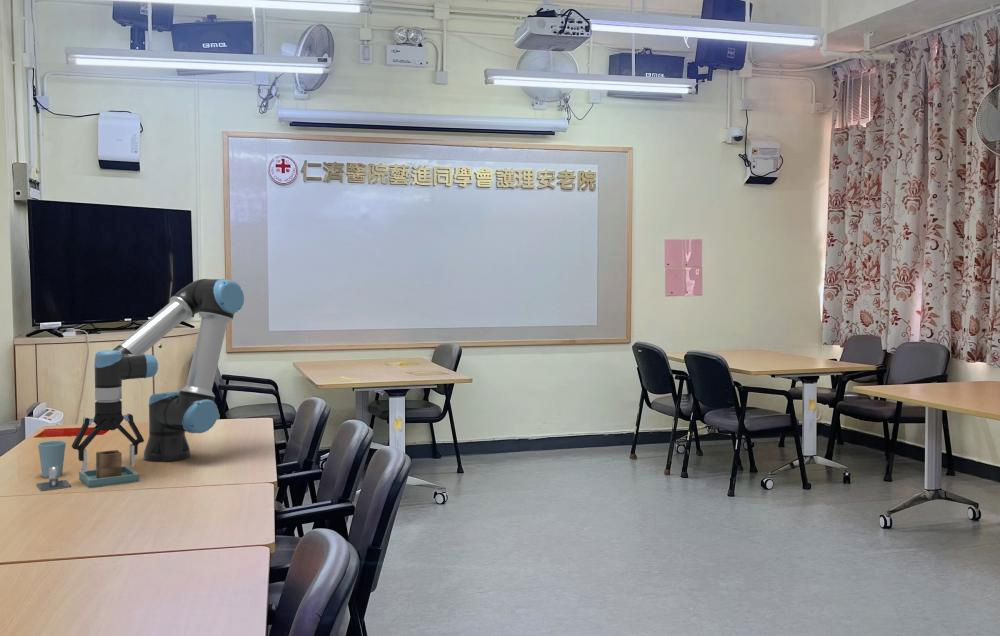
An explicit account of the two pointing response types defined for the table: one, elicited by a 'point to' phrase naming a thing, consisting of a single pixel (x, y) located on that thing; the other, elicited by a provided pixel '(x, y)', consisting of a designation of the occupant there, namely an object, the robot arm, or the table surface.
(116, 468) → the bored block
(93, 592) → the table surface
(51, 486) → the knob mounting plate
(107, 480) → the tray
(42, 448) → the cup
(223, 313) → the robot arm
